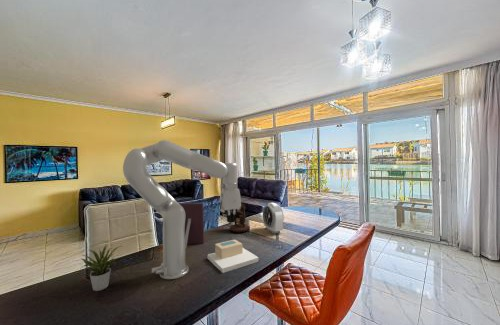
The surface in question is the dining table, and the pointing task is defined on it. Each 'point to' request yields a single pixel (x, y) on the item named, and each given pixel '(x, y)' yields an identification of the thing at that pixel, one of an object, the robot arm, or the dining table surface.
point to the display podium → (233, 261)
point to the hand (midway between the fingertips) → (230, 222)
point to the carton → (228, 249)
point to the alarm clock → (273, 218)
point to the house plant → (100, 269)
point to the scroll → (240, 221)
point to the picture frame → (193, 223)
